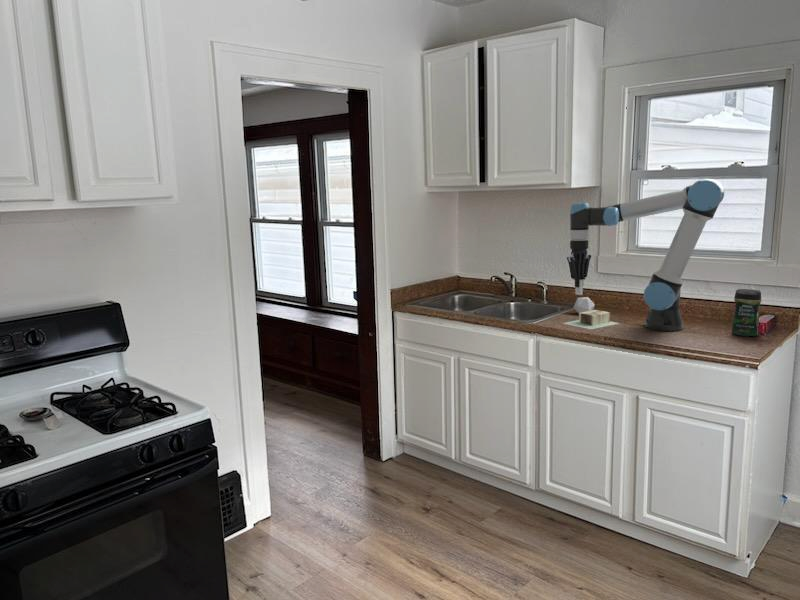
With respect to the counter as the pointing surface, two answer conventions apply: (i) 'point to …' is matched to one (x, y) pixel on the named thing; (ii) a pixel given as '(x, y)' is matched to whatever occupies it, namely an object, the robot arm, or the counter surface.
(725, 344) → the counter surface
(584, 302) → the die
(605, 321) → the maple slab
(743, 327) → the coffee jar
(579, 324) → the mat
